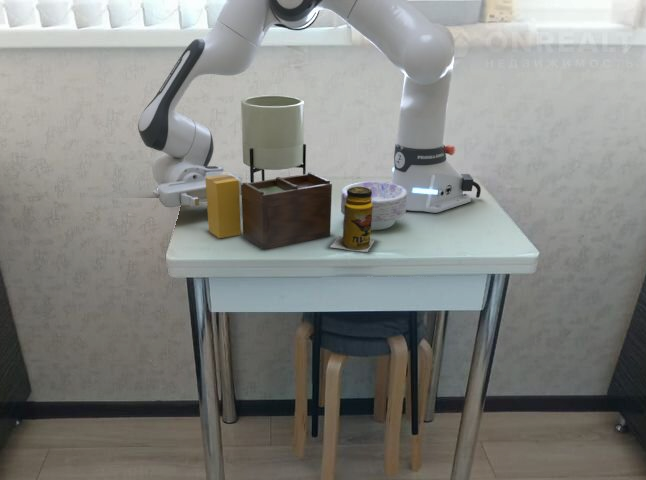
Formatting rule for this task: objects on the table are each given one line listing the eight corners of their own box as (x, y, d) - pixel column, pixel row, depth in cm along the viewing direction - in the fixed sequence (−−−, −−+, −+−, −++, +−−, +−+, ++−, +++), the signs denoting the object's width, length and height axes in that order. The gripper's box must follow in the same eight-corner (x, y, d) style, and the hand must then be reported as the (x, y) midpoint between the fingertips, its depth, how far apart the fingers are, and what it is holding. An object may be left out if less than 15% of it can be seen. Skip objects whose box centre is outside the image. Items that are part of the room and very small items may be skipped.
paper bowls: (333, 231, 161) (335, 196, 156) (347, 211, 173) (349, 178, 168) (399, 238, 158) (402, 202, 153) (408, 217, 170) (412, 183, 165)
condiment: (367, 252, 150) (371, 195, 143) (329, 248, 152) (331, 191, 145) (374, 241, 156) (379, 186, 149) (338, 237, 158) (340, 182, 151)
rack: (307, 223, 165) (308, 171, 158) (330, 236, 159) (332, 181, 152) (242, 236, 158) (240, 181, 151) (263, 249, 151) (262, 193, 144)
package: (230, 227, 163) (227, 173, 156) (241, 234, 159) (239, 179, 152) (208, 231, 160) (204, 177, 153) (219, 238, 157) (215, 183, 150)
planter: (300, 209, 174) (301, 108, 160) (238, 205, 176) (234, 105, 162) (309, 191, 186) (311, 96, 172) (251, 188, 188) (248, 93, 174)
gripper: (147, 176, 162) (171, 191, 153) (226, 165, 171) (253, 178, 161) (151, 204, 166) (174, 220, 157) (227, 191, 175) (254, 206, 165)
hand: (215, 199), depth 159 cm, fingers open, 8 cm apart
